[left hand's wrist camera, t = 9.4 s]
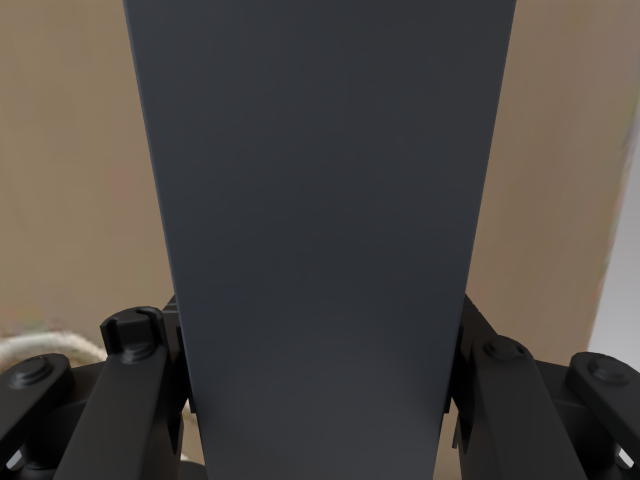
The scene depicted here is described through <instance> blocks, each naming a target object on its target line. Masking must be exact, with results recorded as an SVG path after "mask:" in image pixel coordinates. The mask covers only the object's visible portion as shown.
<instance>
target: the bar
mask: <svg viewBox="0 0 640 480" xmlns="http://www.w3.org/2000/svg"><path fill="white" fill-rule="evenodd" d="M123 5H124V10H125V16H126V22H127V27H128V33H129V39H130V44H131V50H132V55H133V61H134V67H135V72H136V78H137V84H138V89H139V95H140V100H141V106H142V112H143V117H144V123H145V129H146V134H147V140H148V146H149V151H150V157H151V162H152V168H153V174H154V179H155V185H156V191H157V196H158V202H159V207H160V213H161V219H162V224H163V230H164V236H165V241H166V247H167V252H168V258H169V264H170V269H171V275H172V281H173V286H174V292H175V298H176V303H177V309H178V314H179V320H180V326H181V331H182V337H183V343H184V348H185V354H186V359H187V365H188V371H189V376H190V382H191V388H192V393H193V399H194V404H195V410H196V416H197V421H198V427H199V433H200V438H201V444H202V450H203V455H204V461H205V466H206V472H207V478H208V480H432V478H433V473H434V467H435V461H436V456H437V450H438V444H439V439H440V433H441V427H442V421H443V416H444V410H445V404H446V399H447V393H448V387H449V381H450V376H451V370H452V364H453V359H454V353H455V347H456V342H457V336H458V330H459V324H460V319H461V313H462V307H463V302H464V296H465V290H466V285H467V279H468V273H469V267H470V262H471V256H472V250H473V245H474V239H475V233H476V227H477V222H478V216H479V210H480V205H481V199H482V193H483V188H484V182H485V176H486V170H487V165H488V159H489V153H490V148H491V142H492V136H493V130H494V125H495V119H496V113H497V108H498V102H499V96H500V91H501V85H502V79H503V73H504V68H505V62H506V56H507V51H508V45H509V39H510V33H511V28H512V22H513V16H514V11H515V5H516V0H123Z"/></svg>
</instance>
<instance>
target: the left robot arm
mask: <svg viewBox="0 0 640 480" xmlns="http://www.w3.org/2000/svg"><path fill="white" fill-rule="evenodd" d="M100 329H101V333H102V337H103V340H104V344H105V348H106V351H107V355H108V357H107V359H106V361H103V362H100V363H95V364H90V365H86V366H81V367H76V368H71V365H70V362H69V359H68V358H67V357H66V356H64V355H63V354H56V353H52V354H44V355H38V356H35V357H31V358H28V359H26V360H24V361H22V362H20V363H18V364H16V365H14V366H12V367H11V368H10V369H8V370H7V371H5V372H4V373H2V374H1V375H0V480H178V476H179V467H180V458H181V449H182V440H183V431H184V423H183V417H182V410H183V408H184V405H185V403H186V401H187V399H188V400H189V405H190V411H191V413H196V410H195V404H194V399H193V393H192V388H191V382H190V376H189V371H188V365H187V359H186V354H185V348H184V343H183V337H182V331H181V326H180V320H179V314H178V309H177V303H176V298H175V295H174V296H173V297H172V299H171V300H170V301H169V302H168V305H166V306H165V308H164V309H163V310H162V311H160V310H159V309H158V308H154V307H150V306H144V307H135V308H130V309H126V310H123V311H121V312H118V313H116V314H114V315H112V316H111V317H109V318H107V319H106V320H105V321H104V322H103V323H102V324H101V325H100ZM451 398H453V400H454V402H455V404H456V406H457V409H458V411H459V412H458V417H457V422H456V427H455V433H454V438H453V444H452V448H455V449H457V444H458V448H459V457H460V466H461V475H462V480H640V373H639V372H637V371H636V370H635V369H633V368H632V367H630V366H629V365H627V364H625V363H623V362H621V361H619V360H617V359H615V358H613V357H611V356H606V355H604V354H600V353H593V352H580V353H576V354H575V355H574V356H572V358H571V361H570V364H569V367H566V366H562V365H557V364H552V363H547V362H542V361H538V360H535V359H534V358H533V356H532V355H531V353H530V352H529V351H528V349H527V348H526V347H524V346H523V345H522V344H520V343H519V342H517V341H515V340H513V339H510V338H508V337H505V336H501V335H498V334H497V333H496V332H495V331H494V329H493V328H492V327H491V326H490V324H489V323H488V322H487V320H486V319H485V318H484V317H483V315H482V314H481V313H480V312H478V309H477V308H476V306H475V305H474V304H472V301H471V300H470V299H469V297H468V296H467V295H466V294H465V296H464V302H463V307H462V313H461V319H460V324H459V330H458V336H457V342H456V347H455V353H454V359H453V364H452V370H451V376H450V381H449V387H448V393H447V399H446V404H445V410H444V413H449V409H450V404H451ZM621 448H622V449H623V450H624V451H625V452H626V453H627V455H628V456H629V457H630V458H631V459H632V460H633V462H634V464H633V466H632V467H629V466H628V465H627V464H626V463H625V462H624V461H623V460H622V458H621V457H620V456H619V453H620V450H621Z"/></svg>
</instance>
